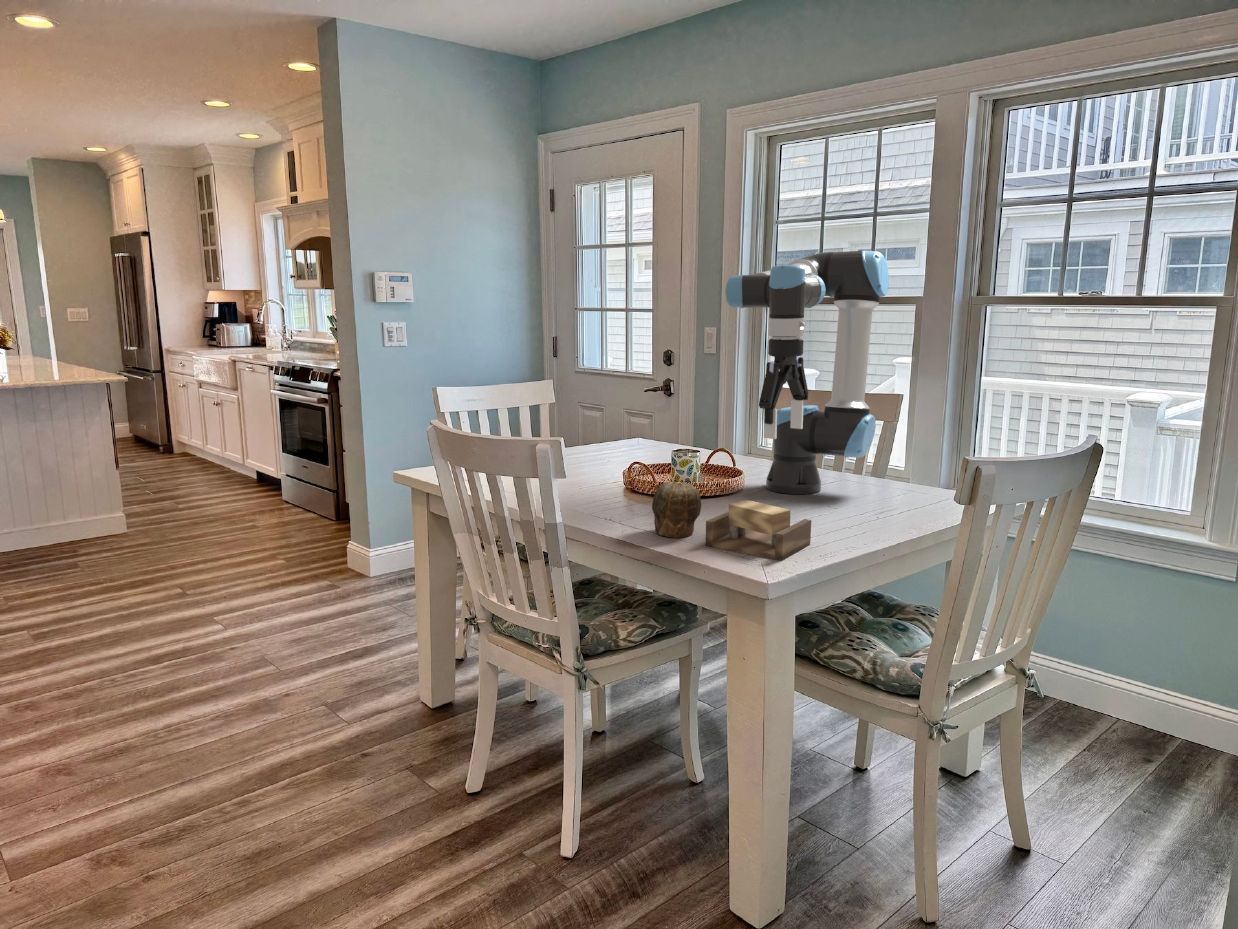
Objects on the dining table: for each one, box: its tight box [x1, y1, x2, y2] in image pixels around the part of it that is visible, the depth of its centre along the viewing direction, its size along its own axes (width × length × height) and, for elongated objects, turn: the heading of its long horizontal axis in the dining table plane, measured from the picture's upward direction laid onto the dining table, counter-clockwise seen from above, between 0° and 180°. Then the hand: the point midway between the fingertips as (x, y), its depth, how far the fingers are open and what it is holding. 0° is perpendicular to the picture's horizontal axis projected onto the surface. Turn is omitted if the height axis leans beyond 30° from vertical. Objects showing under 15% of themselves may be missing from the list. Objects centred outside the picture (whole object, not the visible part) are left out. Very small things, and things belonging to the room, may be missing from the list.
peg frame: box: [705, 511, 812, 562], centre depth 180 cm, size 18×14×6 cm
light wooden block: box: [728, 499, 792, 536], centre depth 179 cm, size 12×6×4 cm, turn 40°
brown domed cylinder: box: [651, 481, 702, 539], centre depth 188 cm, size 11×11×12 cm
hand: (783, 433), depth 187 cm, fingers open, 13 cm apart
